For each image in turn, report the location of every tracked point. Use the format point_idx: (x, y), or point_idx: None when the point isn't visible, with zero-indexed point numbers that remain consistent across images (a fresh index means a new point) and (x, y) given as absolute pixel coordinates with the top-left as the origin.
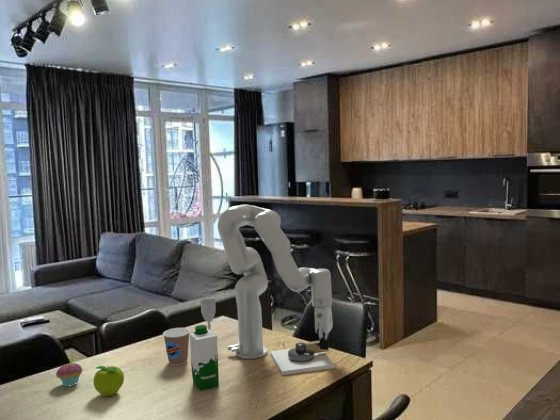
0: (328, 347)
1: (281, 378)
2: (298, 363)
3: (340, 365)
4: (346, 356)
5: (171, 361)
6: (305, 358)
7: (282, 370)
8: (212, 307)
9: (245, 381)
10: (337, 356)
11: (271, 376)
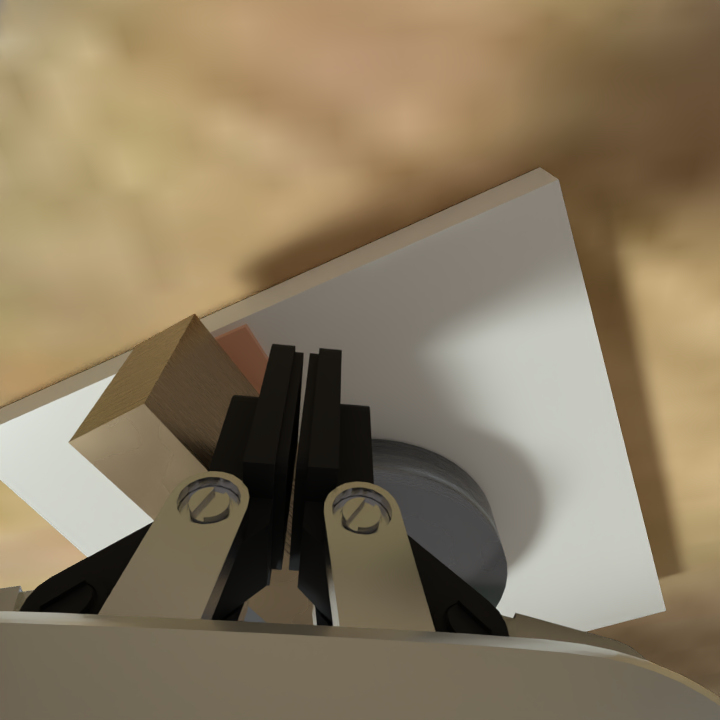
0: (294, 353)
1: (703, 575)
2: (512, 538)
3: (452, 92)
4: (90, 12)
5: None
6: (492, 523)
7: (649, 609)
8: None
9: None
10: (137, 165)
11: (652, 625)
